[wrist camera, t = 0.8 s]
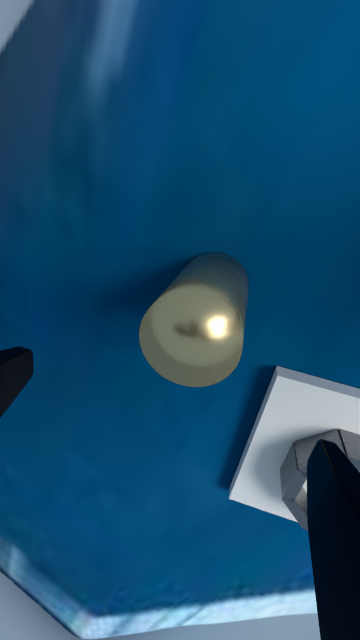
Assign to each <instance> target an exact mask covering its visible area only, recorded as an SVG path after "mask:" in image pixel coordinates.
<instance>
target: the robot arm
mask: <svg viewBox="0 0 360 640" xmlns="http://www.w3.org/2000/svg"><path fill="white" fill-rule="evenodd" d="M33 370H34V369H33V353H32V351H31V350H30V349H27V348H24V347H14V348H10V349H6V350H2V351H0V417H1V416H2V415H3V414H4V412H5V411H6V410H7V409H8V407H9V406H10V405H11V403H12V402H13V401H14V400H15V398H16V397H17V396H18V394H19V393H20V392H21V390H22V389H23V388H24V386H25V385H26V384H27V383H28V381H29V380H30V379H31V377H32V375H33ZM307 524H308V534H309V543H310V551H311V560H312V568H313V577H314V585H315V594H316V603H317V611H318V620H319V627H320V637H321V640H360V472H359V471H358V469H357V468H356V467H355V466H354V465H353V463H352V462H351V461H350V460H349V459H348V457H347V456H346V455H345V454H344V453H343V451H342V450H341V449H340V448H339V447H338V445H337V444H336V443H334V442H331V441H328V440H324V439H319V440H318V441H317V443H316V445H315V447H314V448H313V450H312V452H311V454H310V456H309V458H308V461H307Z"/></svg>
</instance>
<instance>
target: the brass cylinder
mask: <svg viewBox="0 0 360 640" xmlns="http://www.w3.org/2000/svg"><path fill="white" fill-rule="evenodd" d="M248 287H249V284H248V277H247V274H246V272H245V270H244V268H243V267H242V265H241V264H240V263H239V262H238V261H237V260H236V259H234V258H233V257H231V256H229V255H227V254H224V253H219V252H209V253H204V254H202V255H199V256H197V257H196V258H194V259H193V260H192V261H191V262H190V263H189V264H188V265H187V266H186V267H185V268H184V269H183V270H182V272H181V273H180V274H179V275H178V276H177V277H176V278H175V280H174V281H173V282H172V283H171V284H170V285H169V286H168V287H167V289H166V290H165V291H164V292H163V293H162V294H161V295H160V297H159V298H158V299H157V300H156V301H155V302H154V303H153V304H152V306H151V307H150V308H149V309H148V310H147V312H146V313H145V315H144V317H143V319H142V322H141V325H140V329H139V340H140V345H141V349H142V352H143V354H144V356H145V358H146V360H147V361H148V363H149V364H150V365H151V366H152V368H153V369H154V370H156V371H157V372H158V373H159V374H160V375H161V376H163V377H164V378H166V379H168V380H170V381H172V382H174V383H177V384H180V385H184V386H190V387H204V386H209V385H212V384H215V383H218V382H220V381H222V380H223V379H225V378H226V377H228V376H229V375H230V374H231V373H232V372H233V370H234V369H235V368H236V366H237V365H238V363H239V360H240V358H241V354H242V347H243V337H244V327H245V317H246V308H247V298H248Z"/></svg>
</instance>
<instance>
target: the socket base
mask: <svg viewBox="0 0 360 640" xmlns="http://www.w3.org/2000/svg"><path fill="white" fill-rule="evenodd" d="M333 429H337V430H339V429H343V430H346V431H349V432H353V433H356V434H359V435H360V389H358V388H355V387H351V386H348V385H344V384H340V383H337V382H333V381H330V380H326V379H322V378H319V377H315V376H312V375H308V374H304V373H301V372H297V371H293V370H290V369H286V368H283V367H279V366H276V369H275V371H274V374H273V377H272V379H271V382H270V384H269V387H268V390H267V392H266V395H265V397H264V400H263V402H262V405H261V408H260V410H259V413H258V415H257V418H256V421H255V423H254V426H253V428H252V431H251V433H250V436H249V439H248V441H247V444H246V446H245V449H244V452H243V454H242V457H241V459H240V462H239V465H238V467H237V470H236V472H235V475H234V477H233V480H232V483H231V485H230V493H229V499H231V500H234V501H237V502H240V503H243V504H246V505H249V506H252V507H255V508H258V509H261V510H264V511H267V512H269V513H272V514H275V515H278V516H281V517H284V518H287V519H290V520H293V521H296V522H297V520H296V519H295V517H294V516H293V515H292V513H291V512H290V510H289V509H288V508H287V506H286V505H285V503H284V502H283V501H282V493H281V479H280V468H281V466H282V464H283V462H284V460H285V458H286V456H287V454H288V452H289V450H290V447H291V445H292V443H293V442H295V441H296V440H299V439H303V438H306V437H309V436H313V435H316V434H320V433H323V432H326V431H330V430H333ZM359 472H360V471H359ZM302 487H303V488H304V490H305V491H306V493H307V479H306V481H305V483H304V485H303V486H302Z"/></svg>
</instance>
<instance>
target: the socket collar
mask: <svg viewBox="0 0 360 640" xmlns="http://www.w3.org/2000/svg"><path fill="white" fill-rule="evenodd" d="M319 439H324V440H328V441H331V442H334V443H336V444H337V445H338V447H339V448H340V449H341V450H342V451H343V453H344V454H345V455H346V456H347V457H348V459H349V460H350V461H351V462H352V463H353V465H354V466H355V467H356V468H357V469H358V471H360V435H359V434H356V433H353V432H349V431H346V430H343V429H339V430H337V429H333V430H330V431H326V432H323V433H320V434H316V435H313V436H309V437H306V438H303V439H299V440H296V441H295V442H293V443H292V445H291V447H290V450H289V452H288V454H287V456H286V458H285V460H284V462H283V464H282V466H281V468H280V479H281V493H282V501H283V502H284V503H285V505H286V506H287V508H288V509H289V510H290V512H291V513H292V515H293V516H294V517H295V519H296V520H297V522H298V523H299V525H300V526H301V527H302V528H304V530H307V531H308V524H307V493H306V491H305V490H304V488H303V487H302V486H303V485H304V483H305V481H306V479H307V461H308V458H309V456H310V454H311V452H312V450H313V448H314V447H315V445H316V443H317V441H318V440H319Z"/></svg>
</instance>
